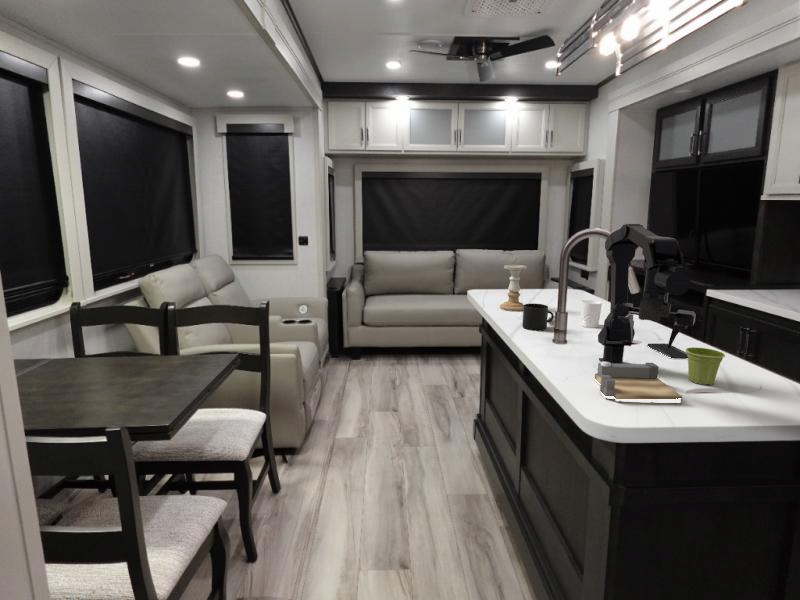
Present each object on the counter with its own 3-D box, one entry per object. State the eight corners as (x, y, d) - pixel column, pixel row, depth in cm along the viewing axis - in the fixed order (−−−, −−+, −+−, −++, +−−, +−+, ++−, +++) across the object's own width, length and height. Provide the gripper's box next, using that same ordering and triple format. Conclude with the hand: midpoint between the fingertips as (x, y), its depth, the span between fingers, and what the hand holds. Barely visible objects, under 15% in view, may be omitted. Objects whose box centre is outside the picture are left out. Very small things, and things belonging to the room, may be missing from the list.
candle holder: (495, 306, 240) (497, 264, 237) (517, 305, 244) (520, 264, 240) (507, 312, 229) (510, 268, 225) (531, 310, 233) (534, 267, 229)
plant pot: (685, 373, 148) (689, 345, 146) (723, 381, 142) (727, 351, 140) (678, 382, 140) (682, 352, 139) (718, 390, 135) (722, 359, 133)
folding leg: (601, 377, 137) (602, 364, 136) (597, 373, 140) (598, 360, 140) (657, 378, 137) (658, 365, 136) (651, 374, 140) (653, 362, 139)
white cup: (596, 324, 208) (598, 300, 206) (602, 328, 200) (604, 304, 198) (577, 323, 208) (578, 299, 207) (581, 328, 201) (583, 303, 199)
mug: (556, 331, 195) (557, 308, 194) (524, 330, 196) (526, 307, 194) (549, 325, 204) (551, 303, 203) (520, 324, 205) (521, 303, 203)
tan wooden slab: (587, 380, 141) (588, 363, 140) (652, 381, 141) (654, 364, 140) (608, 402, 125) (610, 383, 125) (681, 404, 125) (683, 384, 124)
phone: (667, 343, 177) (694, 356, 162) (667, 346, 177) (693, 359, 162) (645, 343, 176) (670, 356, 162) (645, 346, 177) (670, 359, 162)
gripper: (611, 287, 127) (604, 346, 131) (695, 297, 117) (686, 360, 121) (620, 281, 136) (614, 336, 140) (699, 289, 126) (690, 348, 130)
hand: (649, 345), depth 132 cm, fingers open, 9 cm apart
